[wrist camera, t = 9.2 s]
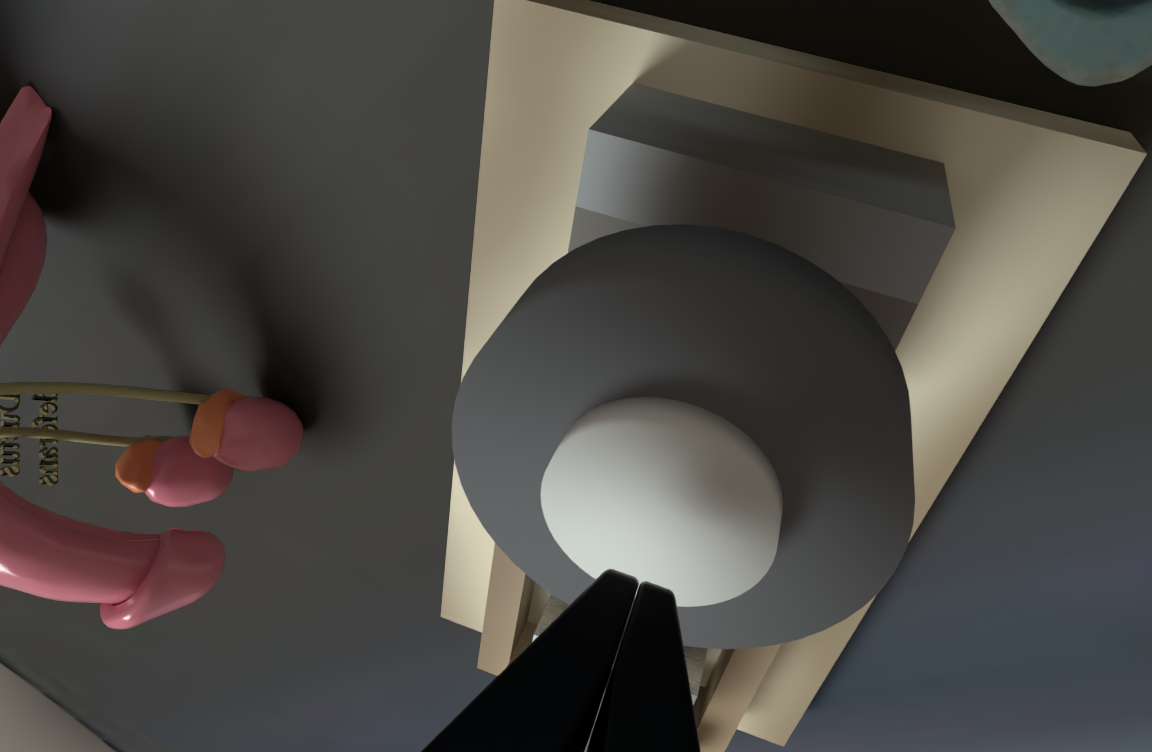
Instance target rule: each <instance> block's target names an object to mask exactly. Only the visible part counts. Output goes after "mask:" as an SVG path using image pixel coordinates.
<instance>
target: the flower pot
mask: <svg viewBox="0 0 1152 752" xmlns="http://www.w3.org/2000/svg"><path fill="white" fill-rule="evenodd" d="M989 2H990V4H991V5H992V7H993V8H994V9H995V10H996V11H997V13H998V14H999V15H1000V16H1001V17H1002V18H1003V19H1004V21H1005V22H1006V23H1007V24H1008V25H1009V26H1010V27H1011V28H1012V30H1013V31H1014V32H1015V33H1016V34H1017V36H1018V37H1019V38H1020V39H1021V40H1022V42H1023V43H1024V44H1025V45H1026V47H1027V48H1028V49H1029V50H1030V51H1031V52H1032V53H1033V54H1034V55H1035V56H1036V57H1037V58H1038V59H1039V60H1040V61H1041V62H1042V63H1043V64H1044V65H1045V66H1046V67H1047V68H1049V69H1050V70H1052V71H1053V72H1055V73H1056V74H1058V75H1059V76H1060V77H1062V78H1063V79H1065V80H1067V81H1070V82H1072V83H1075V84H1077V85H1082V86H1094V87H1095V86H1099V85H1104V84H1110V83H1116V82H1120V81H1123V80H1126V79H1128V78H1131V77H1133V76H1134V75H1136V74H1138V73H1139V72H1141V71H1143V70H1144V69H1146V68H1148V67H1149V66H1151V65H1152V0H989Z"/></svg>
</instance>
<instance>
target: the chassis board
mask: <svg viewBox="0 0 1152 752" xmlns="http://www.w3.org/2000/svg"><path fill="white" fill-rule="evenodd" d="M1146 155H1147V153H1146V152H1145V150H1144V149H1143V148H1142V147H1141V145H1140V144H1139V143H1138V142H1137V140H1136V139H1135V138H1134V136H1133V135H1132V134H1131V133H1130V132H1127V131H1123V130H1119V129H1115V128H1111V127H1106V126H1102V125H1098V124H1094V123H1090V122H1086V121H1082V120H1078V119H1074V118H1070V117H1065V116H1061V115H1057V114H1053V113H1049V112H1045V111H1041V110H1037V109H1033V108H1029V107H1024V106H1020V105H1016V104H1012V103H1008V102H1004V101H1000V100H996V99H992V98H988V97H983V96H979V95H975V94H971V93H967V92H963V91H959V90H955V89H951V88H947V87H942V86H938V85H934V84H930V83H926V82H922V81H918V80H914V79H910V78H906V77H902V76H897V75H893V74H889V73H885V72H881V71H877V70H873V69H869V68H865V67H861V66H856V65H852V64H848V63H844V62H840V61H836V60H832V59H828V58H824V57H820V56H815V55H811V54H807V53H803V52H799V51H795V50H791V49H787V48H783V47H779V46H774V45H770V44H766V43H762V42H758V41H754V40H750V39H746V38H742V37H738V36H733V35H729V34H725V33H721V32H717V31H713V30H709V29H705V28H701V27H697V26H692V25H688V24H684V23H680V22H676V21H672V20H668V19H664V18H660V17H656V16H651V15H647V14H643V13H639V12H635V11H631V10H627V9H623V8H619V7H615V6H611V5H606V4H602V3H598V2H594V1H590V0H494V12H493V23H492V35H491V46H490V57H489V69H488V80H487V92H486V103H485V115H484V126H483V138H482V149H481V161H480V172H479V184H478V195H477V207H476V218H475V230H474V241H473V253H472V264H471V276H470V287H469V299H468V310H467V322H466V333H465V345H464V356H463V368H462V379H463V377H464V375H465V373H466V372H467V370H468V368H469V366H470V365H471V363H472V361H473V359H474V358H475V356H476V355H477V354H478V352H479V351H480V350H481V348H482V347H483V346H484V344H485V343H486V342H487V341H488V339H489V338H490V337H491V335H492V334H493V333H494V331H495V330H496V329H497V327H498V326H499V325H500V323H501V322H502V321H503V320H504V318H505V317H506V316H507V314H508V313H509V312H510V310H511V309H512V308H513V306H514V305H515V304H516V302H517V301H518V300H519V298H520V297H521V296H522V295H523V293H524V292H525V291H526V290H527V289H528V287H529V286H530V285H531V284H532V282H533V281H534V280H535V279H536V278H537V277H538V276H539V275H540V274H541V273H542V272H543V271H545V270H546V269H547V268H548V267H549V266H550V265H551V264H552V263H554V262H555V261H557V260H558V259H560V258H561V257H563V256H564V255H566V254H567V253H569V252H571V251H572V250H574V249H575V248H578V247H580V246H582V245H584V244H586V243H588V242H591V241H593V240H595V239H597V238H600V237H603V236H606V235H610V234H613V233H616V232H620V231H623V230H627V229H634V228H640V227H646V226H652V225H678V224H687V225H697V226H708V227H717V228H722V229H726V230H731V231H735V232H740V233H744V234H748V235H751V236H754V237H757V238H760V239H763V240H765V241H768V242H771V243H774V244H777V245H779V246H781V247H783V248H785V249H787V250H789V251H791V252H793V253H795V254H797V255H799V256H801V257H803V258H805V259H807V260H809V261H810V262H812V263H813V264H815V265H816V266H818V267H819V268H821V269H822V270H824V271H825V272H827V273H828V274H830V275H831V276H833V277H834V278H835V279H836V280H837V281H839V282H840V283H841V284H842V285H843V286H844V287H845V288H847V289H848V290H849V291H850V292H851V293H852V294H854V295H855V296H856V297H857V298H858V300H859V301H860V302H861V303H862V304H863V305H864V306H865V307H866V309H867V310H868V311H869V312H870V313H871V314H872V315H873V317H874V318H875V319H876V320H877V322H878V324H879V325H880V327H881V328H882V330H883V331H884V333H885V334H886V336H887V337H888V339H889V340H890V342H891V344H892V346H893V348H894V350H895V353H896V355H897V357H898V359H899V361H900V364H901V366H902V369H903V373H904V376H905V380H906V384H907V387H908V391H909V400H910V410H911V424H912V445H913V465H914V486H915V509H914V521H913V528H912V532H911V535H910V539H909V541H910V540H911V538H912V536H913V535H914V533H915V531H916V530H917V528H918V527H919V525H920V523H921V522H922V520H923V518H924V517H925V515H926V513H927V512H928V510H929V509H930V507H931V505H932V504H933V502H934V500H935V499H936V497H937V496H938V494H939V492H940V491H941V489H942V487H943V486H944V484H945V483H946V481H947V479H948V478H949V476H950V474H951V473H952V471H953V469H954V468H955V466H956V465H957V463H958V461H959V460H960V458H961V456H962V455H963V453H964V452H965V450H966V448H967V447H968V445H969V443H970V442H971V440H972V439H973V437H974V435H975V434H976V432H977V430H978V429H979V427H980V425H981V424H982V422H983V421H984V419H985V417H986V416H987V414H988V412H989V411H990V409H991V408H992V406H993V404H994V403H995V401H996V399H997V398H998V396H999V395H1000V393H1001V391H1002V390H1003V388H1004V386H1005V385H1006V383H1007V381H1008V380H1009V378H1010V377H1011V375H1012V373H1013V372H1014V370H1015V368H1016V367H1017V365H1018V364H1019V362H1020V360H1021V359H1022V357H1023V355H1024V354H1025V352H1026V351H1027V349H1028V347H1029V346H1030V344H1031V342H1032V341H1033V339H1034V337H1035V336H1036V334H1037V333H1038V331H1039V329H1040V328H1041V326H1042V324H1043V323H1044V321H1045V320H1046V318H1047V316H1048V315H1049V313H1050V311H1051V310H1052V308H1053V307H1054V305H1055V303H1056V302H1057V300H1058V298H1059V297H1060V295H1061V293H1062V292H1063V290H1064V289H1065V287H1066V285H1067V284H1068V282H1069V280H1070V279H1071V277H1072V276H1073V274H1074V272H1075V271H1076V269H1077V267H1078V266H1079V264H1080V263H1081V261H1082V259H1083V258H1084V256H1085V254H1086V253H1087V251H1088V249H1089V248H1090V246H1091V245H1092V243H1093V241H1094V240H1095V238H1096V236H1097V235H1098V233H1099V232H1100V230H1101V228H1102V227H1103V225H1104V223H1105V222H1106V220H1107V218H1108V217H1109V215H1110V214H1111V212H1112V210H1113V209H1114V207H1115V205H1116V204H1117V202H1118V201H1119V199H1120V197H1121V196H1122V194H1123V192H1124V191H1125V189H1126V188H1127V186H1128V184H1129V183H1130V181H1131V179H1132V178H1133V176H1134V174H1135V173H1136V171H1137V170H1138V168H1139V166H1140V165H1141V163H1142V161H1143V160H1144V158H1145V157H1146ZM462 379H461V382H462ZM908 543H909V542H908ZM550 595H551V593H549V592H548V591H547V590H545V589H544V588H543V587H541V586H540V585H539V584H537V583H536V582H535V581H533V580H532V579H531V578H530V577H529V576H528V575H526V574H525V573H524V572H523V571H522V570H521V569H520V568H519V567H517V566H516V565H515V564H514V563H513V562H512V561H511V560H510V559H509V558H508V556H507V555H506V554H505V553H504V552H503V551H502V550H501V549H500V548H499V547H498V546H497V544H496V543H495V542H494V540H493V539H492V538H491V536H490V535H489V534H488V533H487V531H486V530H485V529H484V527H483V526H482V524H481V522H480V521H479V519H478V517H477V516H476V514H475V512H474V511H473V509H472V507H471V505H470V503H469V501H468V499H467V497H466V494H465V492H464V490H463V488H462V485H461V482H460V479H459V475H458V472H457V469H456V465H455V460H454V471H453V482H452V494H451V505H450V517H449V528H448V540H447V551H446V563H445V574H444V586H443V597H442V609H441V617H443V618H445V619H448V620H451V621H453V622H456V623H458V624H461V625H464V626H466V627H469V628H472V629H474V630H477V631H480V632H482V638H481V645H480V652H479V659H478V666H477V668H479V669H481V670H484V671H486V672H489V673H491V674H494V675H497V676H498V675H499V674H500V673H501V672H502V671H503V670H504V669H505V668H506V667H507V666H508V665H509V664H510V663H511V662H512V661H513V660H514V659H515V658H516V657H517V656H519V655H520V654H521V653H522V652H523V651H524V650H525V649H526V648H527V647H528V646H529V645H530V644H531V643H532V640H533V636H534V633H535V630H536V628H537V626H538V623H539V621H540V619H541V616H542V614H543V612H544V609H545V607H546V605H547V602H548V600H549V598H550ZM875 597H876V596H874V597H873V598H872V599H871V600H870V601H869V602H868V603H867V604H866V605H865V606H864V607H862V608H861V609H860V610H858V611H857V612H855V613H854V614H852V615H851V616H849V617H848V618H847V619H845V620H843V621H841V622H839V623H837V624H836V625H834V626H832V627H830V628H828V629H826V630H824V631H821V632H818V633H816V634H813V635H810V636H807V637H805V638H802V639H799V640H795V641H790V642H786V643H782V644H777V645H772V646H764V647H756V648H745V649H713V648H707V653H706V658H705V663H704V667H703V672H702V677H701V682H700V686H699V691H698V696H697V698H696V700H695V703H694V705H693V708H694V714H695V720H696V726H697V733H698V739H699V745H700V751H701V752H724V751H725V750H726V748H727V746H728V744H729V742H730V740H731V738H732V736H733V734H734V733H735V731H736V729H738V730H741V731H744V732H746V733H749V734H751V735H754V736H757V737H759V738H762V739H765V740H767V741H770V742H773V743H775V744H778V745H781V746H783V747H784V745H785V743H786V742H787V740H788V738H789V737H790V735H791V734H792V732H793V730H794V729H795V727H796V725H797V724H798V722H799V720H800V719H801V717H802V716H803V714H804V712H805V711H806V709H807V707H808V706H809V704H810V703H811V701H812V699H813V698H814V696H815V694H816V693H817V691H818V690H819V688H820V686H821V685H822V683H823V681H824V680H825V678H826V676H827V675H828V673H829V672H830V670H831V668H832V667H833V665H834V663H835V662H836V660H837V659H838V657H839V655H840V654H841V652H842V650H843V649H844V647H845V646H846V644H847V642H848V641H849V639H850V637H851V636H852V634H853V632H854V631H855V629H856V628H857V626H858V624H859V623H860V621H861V619H862V618H863V616H864V615H865V613H866V611H867V610H868V608H869V606H870V605H871V603H872V602H873V600H874V598H875Z"/></svg>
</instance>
